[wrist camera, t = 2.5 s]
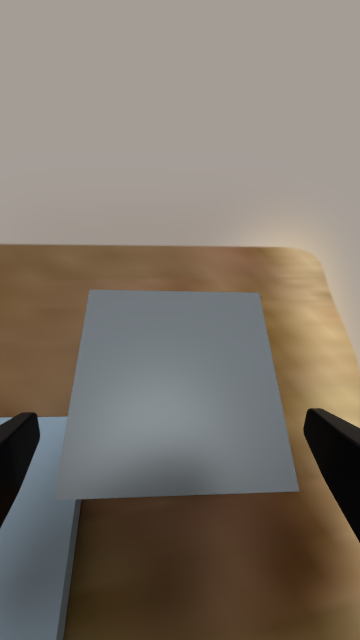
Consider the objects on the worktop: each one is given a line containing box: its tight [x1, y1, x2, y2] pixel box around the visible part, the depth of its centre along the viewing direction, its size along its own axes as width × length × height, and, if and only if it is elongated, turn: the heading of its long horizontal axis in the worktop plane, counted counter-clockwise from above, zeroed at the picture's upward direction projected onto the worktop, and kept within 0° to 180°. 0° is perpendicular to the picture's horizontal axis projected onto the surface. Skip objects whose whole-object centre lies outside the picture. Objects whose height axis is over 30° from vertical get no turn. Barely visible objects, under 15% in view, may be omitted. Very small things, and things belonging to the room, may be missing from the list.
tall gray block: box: [53, 290, 299, 500], centre depth 13 cm, size 6×6×10 cm
